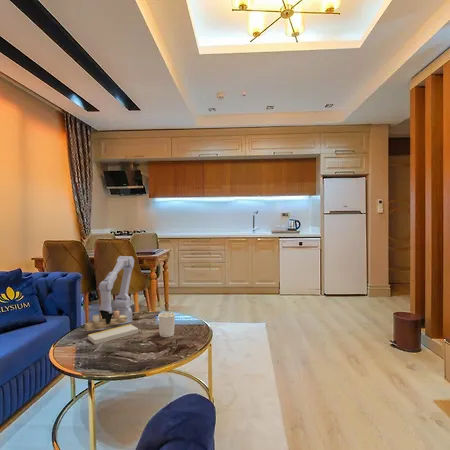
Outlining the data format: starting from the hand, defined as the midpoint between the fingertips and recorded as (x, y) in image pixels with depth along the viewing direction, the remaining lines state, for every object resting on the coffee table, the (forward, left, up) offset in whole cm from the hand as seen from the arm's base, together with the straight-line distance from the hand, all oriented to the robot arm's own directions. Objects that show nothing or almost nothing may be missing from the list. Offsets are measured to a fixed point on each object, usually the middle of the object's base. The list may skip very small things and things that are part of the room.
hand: (106, 322), depth 195 cm
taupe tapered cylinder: (+6, 0, +2) cm, 6 cm away
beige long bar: (0, 0, -2) cm, 2 cm away
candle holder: (-24, +31, -6) cm, 40 cm away
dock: (0, +11, -5) cm, 12 cm away
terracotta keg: (-6, 0, +2) cm, 6 cm away
